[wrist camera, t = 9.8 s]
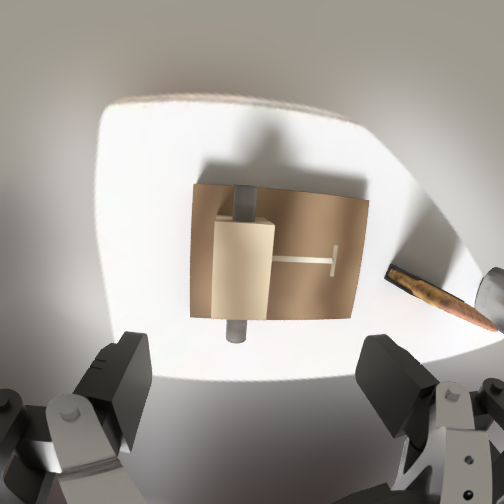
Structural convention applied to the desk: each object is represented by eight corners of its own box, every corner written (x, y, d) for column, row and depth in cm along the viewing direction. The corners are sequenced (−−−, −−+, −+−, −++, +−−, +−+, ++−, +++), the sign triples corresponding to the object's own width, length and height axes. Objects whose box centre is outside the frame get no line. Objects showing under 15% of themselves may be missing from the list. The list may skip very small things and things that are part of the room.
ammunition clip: (441, 288, 30) (503, 323, 18) (435, 301, 30) (496, 339, 18) (390, 263, 28) (464, 302, 16) (383, 278, 28) (454, 323, 16)
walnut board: (359, 199, 26) (369, 200, 24) (342, 310, 28) (350, 318, 26) (196, 184, 24) (193, 183, 22) (192, 308, 26) (190, 317, 24)
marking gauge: (266, 188, 23) (278, 187, 18) (255, 319, 25) (262, 348, 20) (218, 185, 22) (217, 183, 17) (212, 318, 25) (210, 347, 20)
